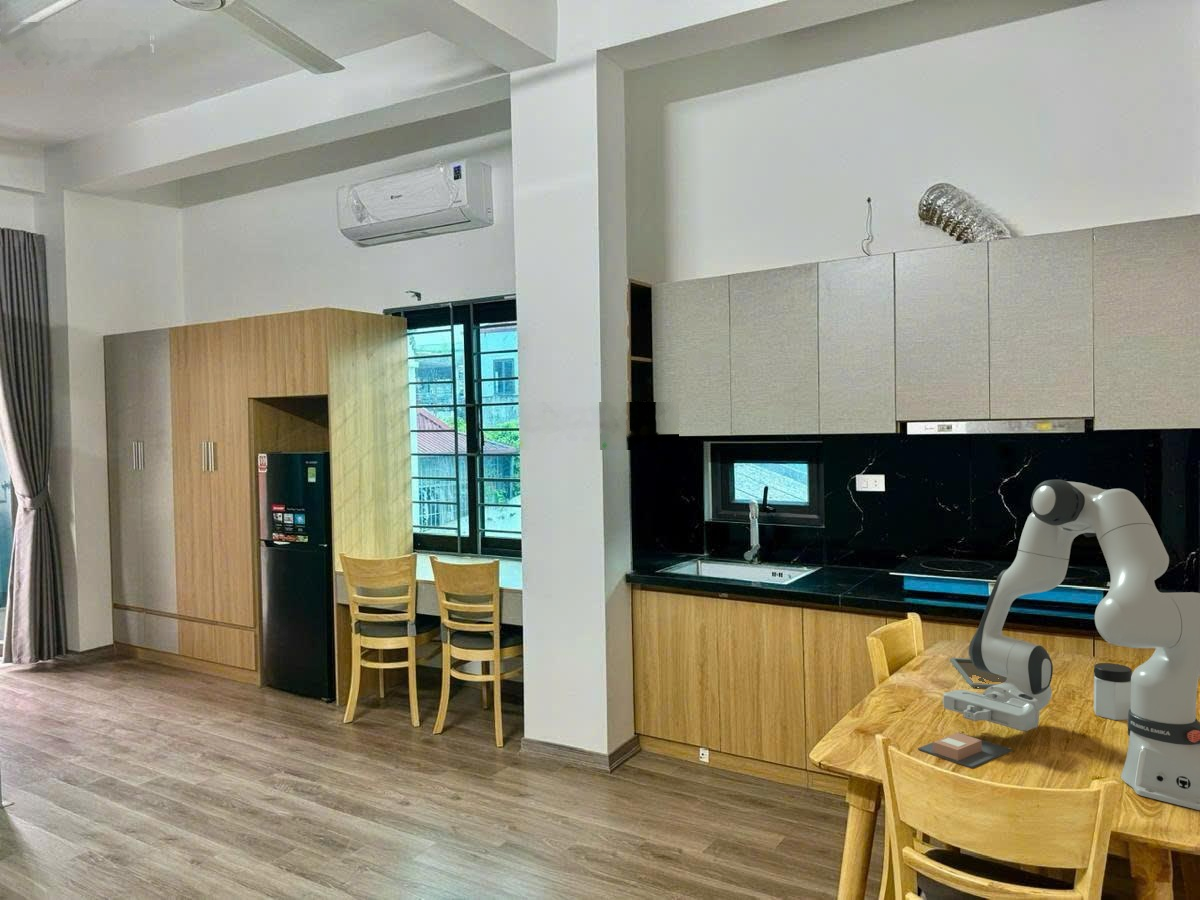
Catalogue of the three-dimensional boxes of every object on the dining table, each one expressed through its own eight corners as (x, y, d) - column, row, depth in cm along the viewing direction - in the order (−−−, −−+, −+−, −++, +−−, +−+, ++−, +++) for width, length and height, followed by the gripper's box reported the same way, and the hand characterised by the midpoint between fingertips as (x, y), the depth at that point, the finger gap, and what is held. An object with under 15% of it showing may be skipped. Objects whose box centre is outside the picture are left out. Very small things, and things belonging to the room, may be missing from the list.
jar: (1117, 708, 220) (1118, 661, 219) (1141, 719, 212) (1141, 671, 211) (1084, 710, 219) (1085, 663, 219) (1106, 721, 211) (1107, 672, 211)
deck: (957, 732, 197) (932, 741, 192) (981, 739, 192) (957, 749, 187) (957, 742, 197) (932, 752, 192) (981, 750, 192) (957, 761, 187)
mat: (1012, 750, 193) (1012, 749, 193) (971, 768, 184) (971, 766, 184) (958, 734, 204) (958, 732, 204) (918, 749, 195) (918, 748, 195)
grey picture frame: (971, 684, 238) (948, 655, 268) (971, 690, 238) (948, 660, 268) (1045, 687, 235) (1014, 657, 264) (1046, 693, 235) (1014, 662, 264)
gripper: (961, 680, 211) (928, 690, 203) (1045, 701, 194) (1012, 714, 186) (961, 705, 211) (928, 717, 203) (1045, 729, 194) (1012, 743, 186)
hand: (968, 716), depth 195 cm, fingers closed
